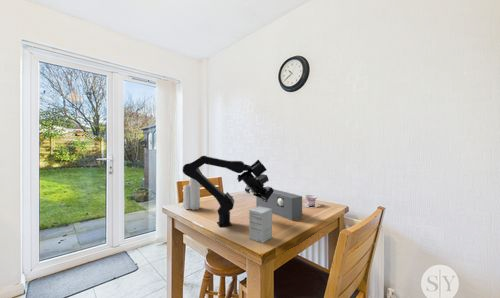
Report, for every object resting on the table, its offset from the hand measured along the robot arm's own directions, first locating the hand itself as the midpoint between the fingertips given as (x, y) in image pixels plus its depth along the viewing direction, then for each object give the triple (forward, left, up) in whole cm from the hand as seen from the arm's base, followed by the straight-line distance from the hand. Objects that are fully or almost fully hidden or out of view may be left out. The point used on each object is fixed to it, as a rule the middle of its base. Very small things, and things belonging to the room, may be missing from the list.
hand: (266, 199), depth 116 cm
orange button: (+15, -7, -5) cm, 18 cm away
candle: (+38, +35, -11) cm, 53 cm away
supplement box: (-20, +13, -11) cm, 27 cm away
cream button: (+2, -10, -5) cm, 11 cm away
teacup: (+13, -40, -11) cm, 43 cm away
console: (+9, -12, -11) cm, 18 cm away
